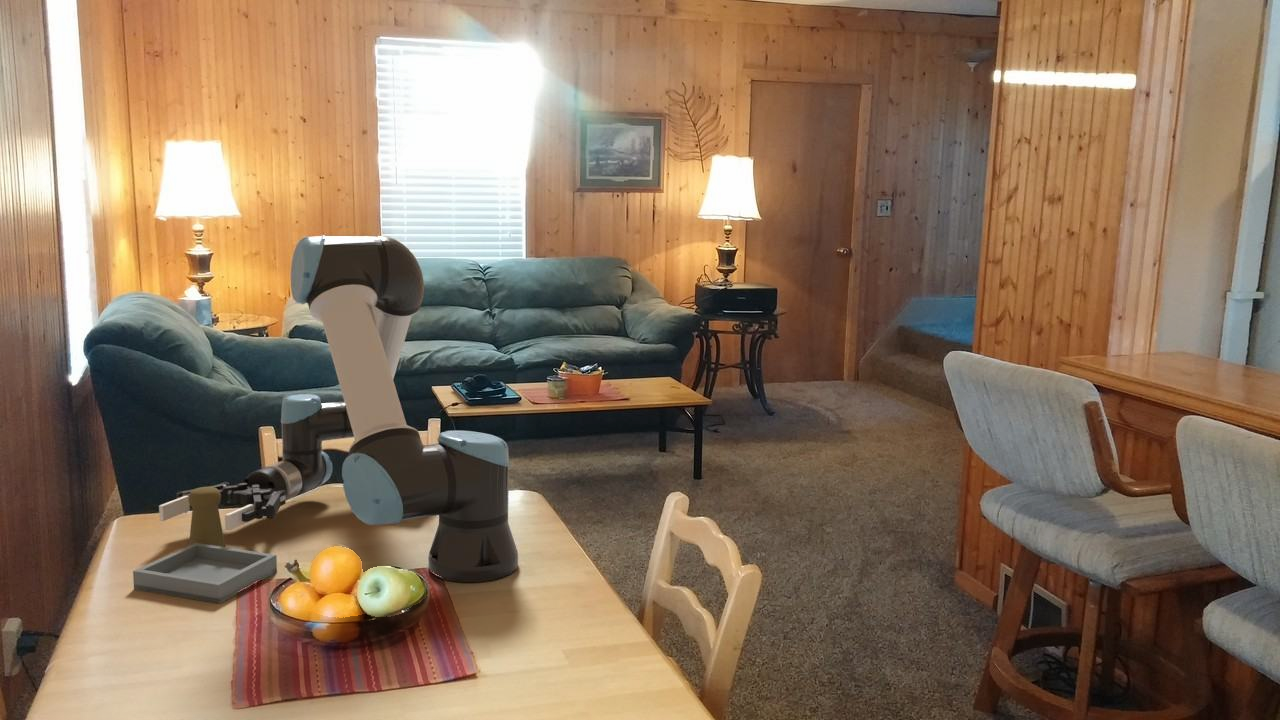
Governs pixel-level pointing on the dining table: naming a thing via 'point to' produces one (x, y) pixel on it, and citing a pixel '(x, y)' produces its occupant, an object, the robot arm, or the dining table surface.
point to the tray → (205, 572)
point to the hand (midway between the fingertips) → (193, 518)
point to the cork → (206, 517)
